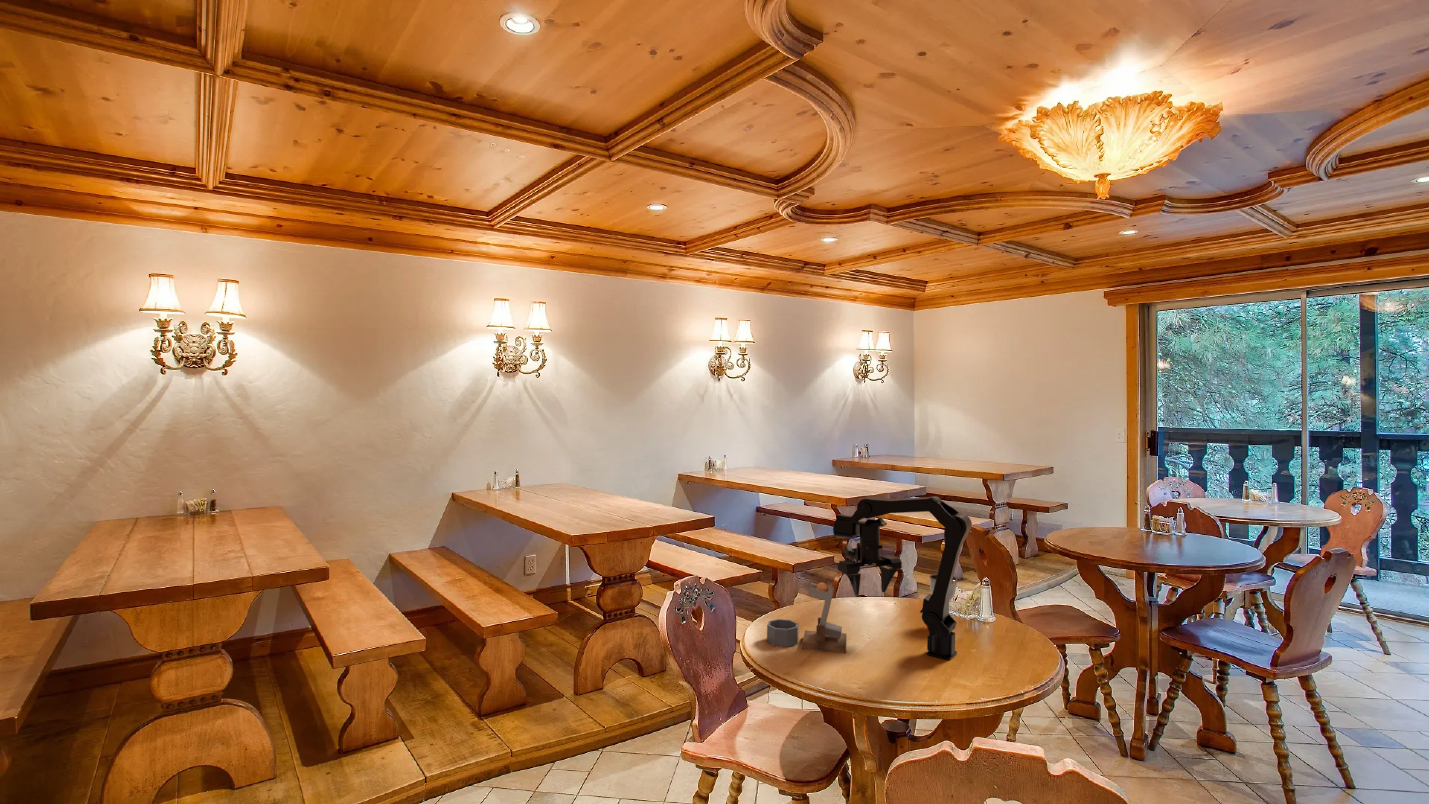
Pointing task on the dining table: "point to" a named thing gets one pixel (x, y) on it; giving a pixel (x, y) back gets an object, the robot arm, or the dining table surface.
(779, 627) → the cup
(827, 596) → the lever
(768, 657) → the dining table surface
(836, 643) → the base
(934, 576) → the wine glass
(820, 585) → the ball
